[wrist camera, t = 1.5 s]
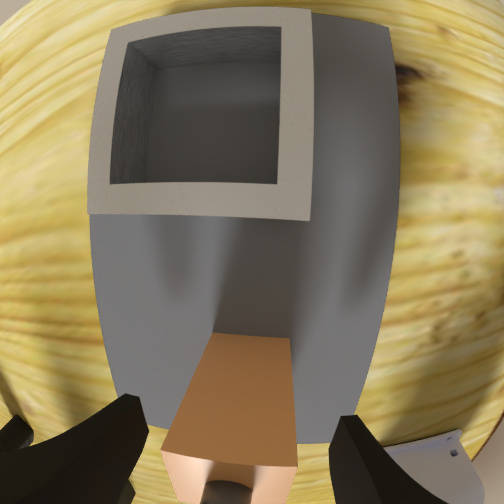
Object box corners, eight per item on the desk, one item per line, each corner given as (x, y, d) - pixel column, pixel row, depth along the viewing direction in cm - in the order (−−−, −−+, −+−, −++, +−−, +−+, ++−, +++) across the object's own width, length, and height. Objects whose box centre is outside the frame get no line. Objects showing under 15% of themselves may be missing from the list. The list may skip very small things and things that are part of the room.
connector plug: (289, 338, 12) (299, 517, 4) (282, 395, 13) (279, 548, 4) (212, 332, 12) (140, 494, 4) (213, 389, 13) (167, 534, 5)
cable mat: (383, 34, 9) (388, 27, 9) (340, 433, 14) (342, 442, 13) (118, 38, 10) (112, 32, 10) (129, 410, 15) (124, 417, 14)
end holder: (303, 46, 9) (311, 9, 6) (300, 213, 11) (309, 220, 8) (141, 56, 10) (111, 29, 7) (127, 208, 11) (87, 214, 8)
